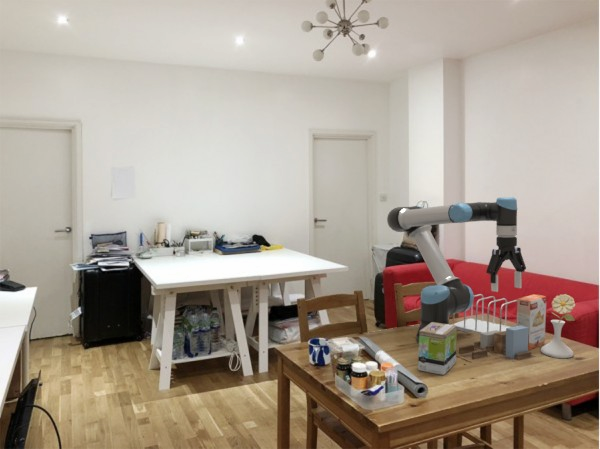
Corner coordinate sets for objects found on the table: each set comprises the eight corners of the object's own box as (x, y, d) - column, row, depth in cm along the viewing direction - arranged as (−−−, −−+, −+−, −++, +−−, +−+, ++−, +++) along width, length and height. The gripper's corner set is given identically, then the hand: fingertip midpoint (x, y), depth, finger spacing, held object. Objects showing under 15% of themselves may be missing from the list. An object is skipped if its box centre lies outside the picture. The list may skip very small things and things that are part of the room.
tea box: (445, 376, 175) (445, 334, 174) (417, 370, 181) (417, 330, 180) (456, 363, 188) (457, 324, 187) (430, 358, 194) (430, 320, 192)
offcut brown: (493, 351, 198) (494, 332, 197) (506, 348, 201) (506, 330, 200) (501, 354, 194) (501, 335, 194) (513, 351, 198) (514, 332, 197)
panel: (505, 356, 192) (506, 328, 191) (520, 353, 196) (520, 325, 195) (513, 359, 189) (513, 330, 188) (527, 355, 192) (528, 327, 192)
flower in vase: (533, 353, 198) (535, 291, 196) (555, 350, 202) (557, 288, 200) (561, 364, 186) (563, 297, 184) (584, 360, 190) (586, 295, 188)
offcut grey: (480, 347, 202) (480, 333, 202) (496, 344, 206) (496, 330, 206) (487, 350, 199) (487, 335, 199) (503, 346, 203) (503, 332, 203)
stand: (455, 356, 195) (455, 347, 195) (474, 352, 200) (474, 343, 200) (471, 362, 188) (471, 353, 188) (490, 358, 193) (490, 349, 193)
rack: (473, 349, 204) (473, 342, 204) (494, 344, 209) (494, 337, 209) (514, 364, 186) (514, 356, 186) (536, 359, 191) (536, 351, 191)
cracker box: (529, 352, 199) (531, 300, 197) (515, 349, 203) (516, 298, 202) (545, 345, 208) (547, 295, 206) (531, 342, 212) (532, 293, 211)
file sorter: (450, 328, 234) (450, 295, 233) (470, 322, 245) (471, 290, 244) (501, 340, 215) (501, 305, 214) (520, 333, 226) (521, 299, 225)
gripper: (492, 238, 189) (492, 294, 191) (535, 235, 201) (535, 287, 203) (476, 237, 196) (476, 291, 197) (519, 234, 208) (519, 284, 209)
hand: (506, 289), depth 200 cm, fingers open, 13 cm apart
